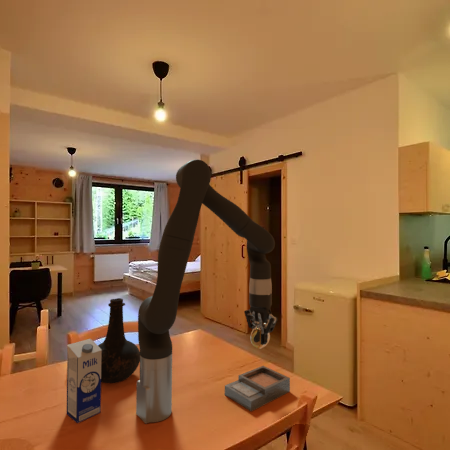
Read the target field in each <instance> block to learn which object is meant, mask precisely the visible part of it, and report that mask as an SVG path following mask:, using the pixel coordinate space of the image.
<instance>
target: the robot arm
mask: <svg viewBox="0 0 450 450" xmlns="http://www.w3.org/2000/svg"><path fill="white" fill-rule="evenodd" d="M211 181H212V172H211V168H210V166H209V165H208V163H207V162H205V161H204V160H202V159H197V158H196V159H191V160H190V161H188V162H186V163H184V164H182V166H181V167H179V168H178V169H177V171H176V175H175V182H176V184H177V185H178V187H179V193H178V198H177V201H176V203H175V206H174V209H173V210H172V212H171V214H170V216H169V218H168V220H167V222H166V224H165V226H164V229H163V232H162V234H161V235H162V236H161V240H160V243H159V247H158V252H157V278H156V284H155V288H154V291H153V294H152V295H151V296H148V297H146V298H144V300H143V301H142V302H141V304H140V305H139V308H138V314H137V315H138V316H137V331H138V332H137V334H138V335H137V340H138V346H139V351H140V362H139V380H138V379H137V381H136V392H135V393H136V394H135V395H136V397H135V398H136V400H135V401H136V404H135V406H136V407H135V411H136V413H135V415H136V416H138V418H140V420H141V421H143V423H144V424H148V423H157V422H161V421H164V420H167V419H168V418H169V417H170V416H171V414H172V407H173V401H172V400H173V342H172V339H171V335H170V329H172V328H173V326H174V323H175V322H176V319H177V314H178V306H179V300H180V299H179V298H180V293H181V288H182V285H183V280H184V277H185V273H186V270H187V267H188V261H189V258H190V254H191V252H192V247H193V244H194V239H195V234H196V231H197V226H198V222H199V217H200V213H201V208H202V206H205V207H206V208H207V209H208V210H210V212H212V213H213V214H215V216H216V217H218V218H219V219H220V220H221V221H222V222H223V223H224V224H225V225H226V226H227V227H228V228H229V229H230V230H231V231H232V232H234V233H235V234H236V235H237V236H239V237H240V238H243V239H245V240H246V251H247V256H248V262H249V265H250V266H249V267H250V268H249V269H250V270H249V284H248V286H249V288H248V289H249V293H248V294H249V295H248V296H249V297H248V301H249V303H248V304H249V306H250V308H249V309H246V310H244V311H243V312H244V316H245V319H246V322H247V325H248V328H249V329H251V330H253V329H254V328H255V327H256V326H257V325H259V326H260V327H261V330H260V331H259V332H258V333H257V334H256V335H255V336H254V340H253V341H254V343H259V342H260V345H265V344H266V343H267V334H268V333H273V331H274V330H275V326H276V325H277V322H278V320H279V318H278V317H277V316H274V315H273V314H272V310H271V307H272V305H273V302H272V300H273V297H272V296H273V294H272V292H273V289H272V288H273V287H272V286H273V284H272V264H271V263H270V262H271V261H269V260H268V259H267V256H266V254H269V253H271V252H272V251H273V250H274V249H275V245H276V242H275V238H274V237H273V235H272V234H271V233H270V232H269V230H267V229H265V228H264V227H263V226H261V225H260V224H258V223H256V221H254V220H253V219H252V218H251V217H250V216H249V215H248V214H247V213H246V212H245V211H244V209H242V208H241V207H240V206H238V205H237V204H236V203H234V202H233V201H232V200H230V199H228V198H227V197H224V196H223V195H222V194H220V192H218V191H217V190H216V189H214V188H213V187H212V186H211V184H210V183H211ZM264 327H265V329H264ZM257 330H258V329H257ZM255 331H256V330H255Z"/></svg>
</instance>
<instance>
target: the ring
mask: <svg viewBox="0 0 450 450" xmlns="http://www.w3.org/2000/svg"><path fill="white" fill-rule="evenodd" d="M257 329H258V330H257ZM264 329H265V327H264ZM251 330H252V329H251ZM255 330H256V331H255ZM259 331H260V332H261V327H260V326H259V325H257V326H256V327H255V328H254V329H253V330H252V331H251V332H250V335H249V336H250V339H249V340H250V343H251V344H252V346H253V347H254V348H256V349H260V350H261V349H263V348H265V347H266V346H267V345H268V344H269V342H270V339H271V335H270V333H271V332H270V333H268V334H267V343H266V344H265V345H261V344H258V345H257V344H256V343H255V342H254V336H255V335H256V334H257V333H258V332H259Z"/></svg>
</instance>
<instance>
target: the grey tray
mask: <svg viewBox="0 0 450 450" xmlns="http://www.w3.org/2000/svg"><path fill="white" fill-rule="evenodd" d="M237 377H238V379H237V380H235V381H233V382H230V383H228V384H225V385H224V396H225V397H227V398H229V399H231V400H232V401H234V402H235V403H236V404H239V405H240V406H242V407H243V408H244V409H246V410H247V411H249V412H253V411H255V410H257V409H258V408H261V407H262V406H265V405H267V404H268V403H271V402H272V401H274V400H277V399H278V398H280V397H282V396H284V395H286V394H288V393H290V392H291V389H290V388H291V378H290V377H289V376H287V375H285V374H282V373H280V372H278V371H277V370H276V371H275V370H273V369H271V368H270V367H267V366H265V365H262V366H259V367H257V368H254V369H251V370H248V371H246V372H244V373H241V374H239V375H238V376H237Z"/></svg>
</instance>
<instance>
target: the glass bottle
mask: <svg viewBox="0 0 450 450" xmlns="http://www.w3.org/2000/svg"><path fill="white" fill-rule="evenodd" d="M109 301H110V303H108V307H109V308H110V309H109V315H108V317H109V319H108V325H107V326H108V327H107V332H106V334H105V338H104V340H103V341H102V342H101V343H100V344H97V345H98V346H99V347H100V348H101V383H104V384H116V383H121V382H123V381H126V380H127V379H128V378H130V377H132V375H133V374H134V372H135V371H136V370H137V369H138V367H139V366H140V348H138V346H137V345H136V344H135V343H133V342H132V341H130V340H128V339H126V335H125V328H124V307H125V306H126V303H125V302H124V299H123V298H118V297H117V298H111V299H110V300H109Z"/></svg>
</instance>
